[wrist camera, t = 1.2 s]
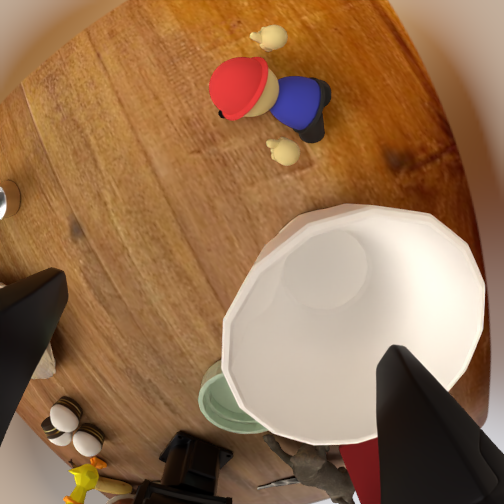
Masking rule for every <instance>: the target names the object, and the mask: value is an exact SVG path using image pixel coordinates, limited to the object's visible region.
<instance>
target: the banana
mask: <svg viewBox="0 0 504 504" xmlns="http://www.w3.org/2000/svg"><path fill="white" fill-rule="evenodd" d="M69 463H71V465H72V466H73V468H77V466H76V465H75V464H74V463H73V462H72V459H71V460H70V461H69ZM95 489H96V490H99V491H102V492H107V493H112V494H120V495H123V494H128V493H131V492H133V491H134V488H133V487H132V486H131V485H129V484H128V483H125V482H123V481H119V480H113V479H109V478H105V477H101V476H99V479H98V481H97V484H96V486H95Z"/></svg>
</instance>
